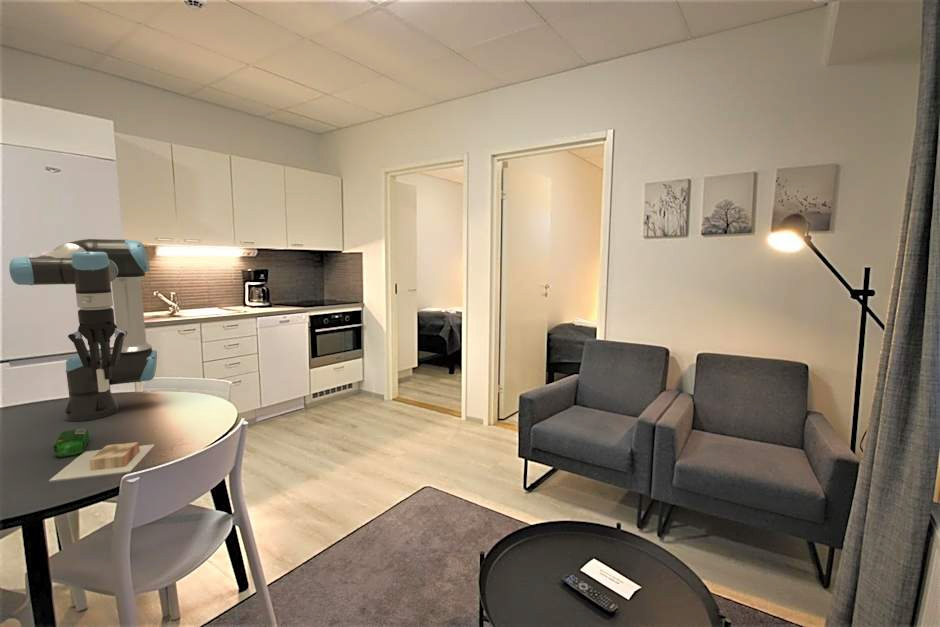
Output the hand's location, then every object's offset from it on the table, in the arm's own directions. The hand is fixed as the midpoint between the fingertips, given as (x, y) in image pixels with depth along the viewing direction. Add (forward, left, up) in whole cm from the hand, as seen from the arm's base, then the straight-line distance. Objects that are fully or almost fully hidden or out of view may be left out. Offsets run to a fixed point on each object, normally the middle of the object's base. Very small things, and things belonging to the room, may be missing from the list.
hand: (104, 390), depth 124 cm
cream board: (0, -1, -21) cm, 21 cm away
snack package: (-13, -15, -22) cm, 29 cm away
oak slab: (+1, -2, -19) cm, 19 cm away
